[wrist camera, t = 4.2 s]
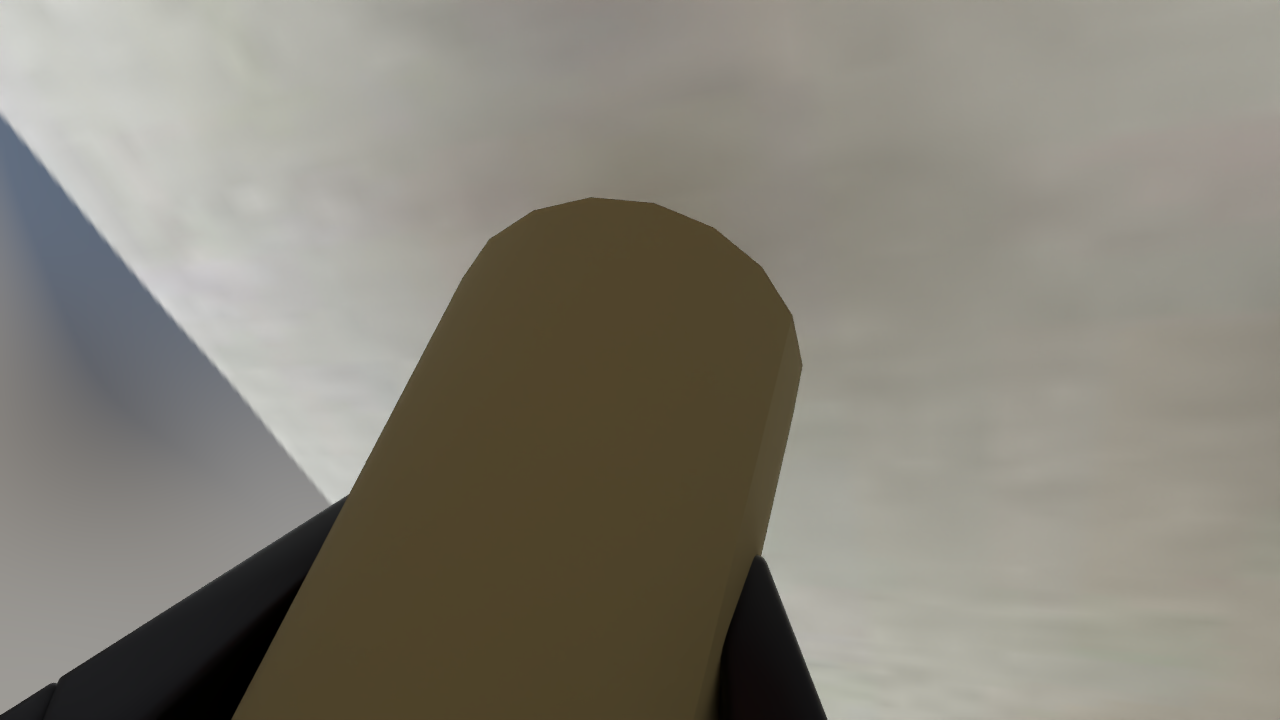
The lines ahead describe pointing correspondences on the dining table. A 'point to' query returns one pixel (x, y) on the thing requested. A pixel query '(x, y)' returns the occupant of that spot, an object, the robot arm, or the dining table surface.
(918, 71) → the dining table surface
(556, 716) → the cork
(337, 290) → the dining table surface
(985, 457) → the dining table surface
